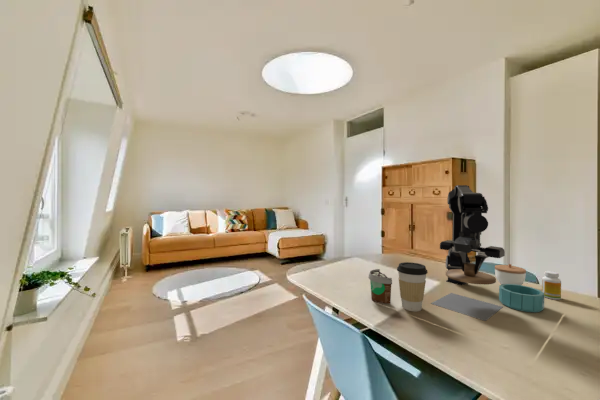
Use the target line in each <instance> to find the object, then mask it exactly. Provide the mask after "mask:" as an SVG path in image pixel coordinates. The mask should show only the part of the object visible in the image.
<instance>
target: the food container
mask: <svg viewBox="0 0 600 400" xmlns="http://www.w3.org/2000/svg"><path fill="white" fill-rule="evenodd" d="M368 279H369V280H370V294H371V295H370V296H371V297H370V298H371V300H372V301H373V302H375V303H377V304H379V305H382V304H385V305H387V304H388V305H390V304H391V298H392V297H391V296H392V285H393V278H392V277H388V276H387V275H386V274H385V273H382V272H381V269H380V268H375V269H372V270H370V272H369V273H368Z"/></svg>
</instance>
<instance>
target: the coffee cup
mask: <svg viewBox="0 0 600 400" xmlns="http://www.w3.org/2000/svg"><path fill="white" fill-rule="evenodd" d="M396 271H397V272H398V286H399V287H398V288H399V294H400V295H399V296H400V302H401V307H402V308H403V309H404V310H405V311H410V312H420V311H422V308H423V302H424V297H425V288H426V282H427V281H426V278H427V275H428V273H429V272H428V269H427V268H426V266H425V265H424V264H422V263H418V262H412V261H411V262H409V261H408V262H407V261H405V262H400V263H399V264H398V266H397V268H396Z"/></svg>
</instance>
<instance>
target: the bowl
mask: <svg viewBox="0 0 600 400" xmlns="http://www.w3.org/2000/svg"><path fill="white" fill-rule="evenodd" d="M498 291H499V292H498V301H500V303H501V304H502V305H504V306H505V307H507V308H510V309H513V310H516V311H521V312H525V313H526V312H527V313H540V312H542V311H543V310H544V309H545V297H544V293H543V292H542V290H540V289H537V288H534V287H532V286H527V285H524V284H522V285H517V284H501V283H500V285H499V286H498Z"/></svg>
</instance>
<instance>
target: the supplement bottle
mask: <svg viewBox="0 0 600 400" xmlns="http://www.w3.org/2000/svg"><path fill="white" fill-rule="evenodd" d="M559 276H560V274H559V272H557V271H552V270H545V271H544V276H542V278H541V291H542V292H543V293H544V298H545V299H550V300H556V301H558V300H562V280H561V278H559Z"/></svg>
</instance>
